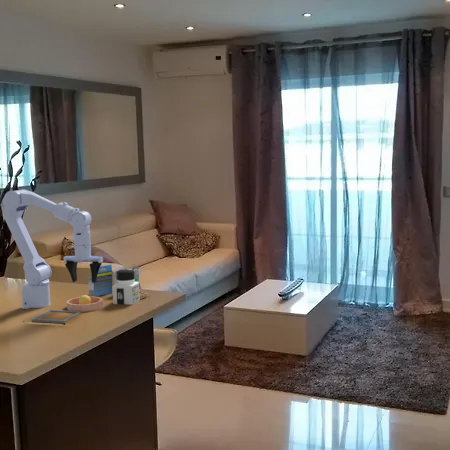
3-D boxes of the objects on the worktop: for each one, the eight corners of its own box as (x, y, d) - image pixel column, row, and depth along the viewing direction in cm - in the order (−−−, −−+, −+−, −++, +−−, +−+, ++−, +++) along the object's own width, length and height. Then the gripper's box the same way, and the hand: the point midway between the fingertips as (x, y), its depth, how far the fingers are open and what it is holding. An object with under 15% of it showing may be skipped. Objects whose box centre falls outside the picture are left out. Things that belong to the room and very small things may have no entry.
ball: (76, 308, 220) (76, 296, 219) (82, 305, 224) (81, 293, 224) (87, 308, 219) (87, 296, 218) (93, 305, 223) (92, 293, 223)
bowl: (60, 313, 217) (60, 304, 217) (77, 304, 229) (76, 295, 229) (93, 314, 214) (93, 305, 214) (108, 305, 226) (108, 297, 226)
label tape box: (107, 293, 246) (106, 263, 245) (113, 294, 243) (112, 264, 242) (88, 297, 240) (87, 266, 238) (94, 298, 237) (93, 267, 236)
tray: (32, 322, 206) (32, 318, 205) (50, 313, 217) (50, 309, 217) (64, 324, 203) (64, 320, 203) (81, 314, 214) (81, 311, 214)
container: (132, 306, 224) (131, 271, 222) (113, 306, 225) (111, 271, 224) (139, 301, 231) (138, 267, 230) (120, 300, 233) (119, 267, 231)
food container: (127, 298, 237) (126, 272, 236) (115, 296, 240) (114, 271, 239) (147, 291, 247) (146, 267, 246) (136, 290, 251) (135, 266, 249)
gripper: (58, 246, 217) (60, 283, 219) (96, 246, 214) (98, 284, 216) (67, 243, 224) (69, 279, 226) (104, 243, 221) (106, 280, 223)
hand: (84, 281), depth 221 cm, fingers open, 7 cm apart
